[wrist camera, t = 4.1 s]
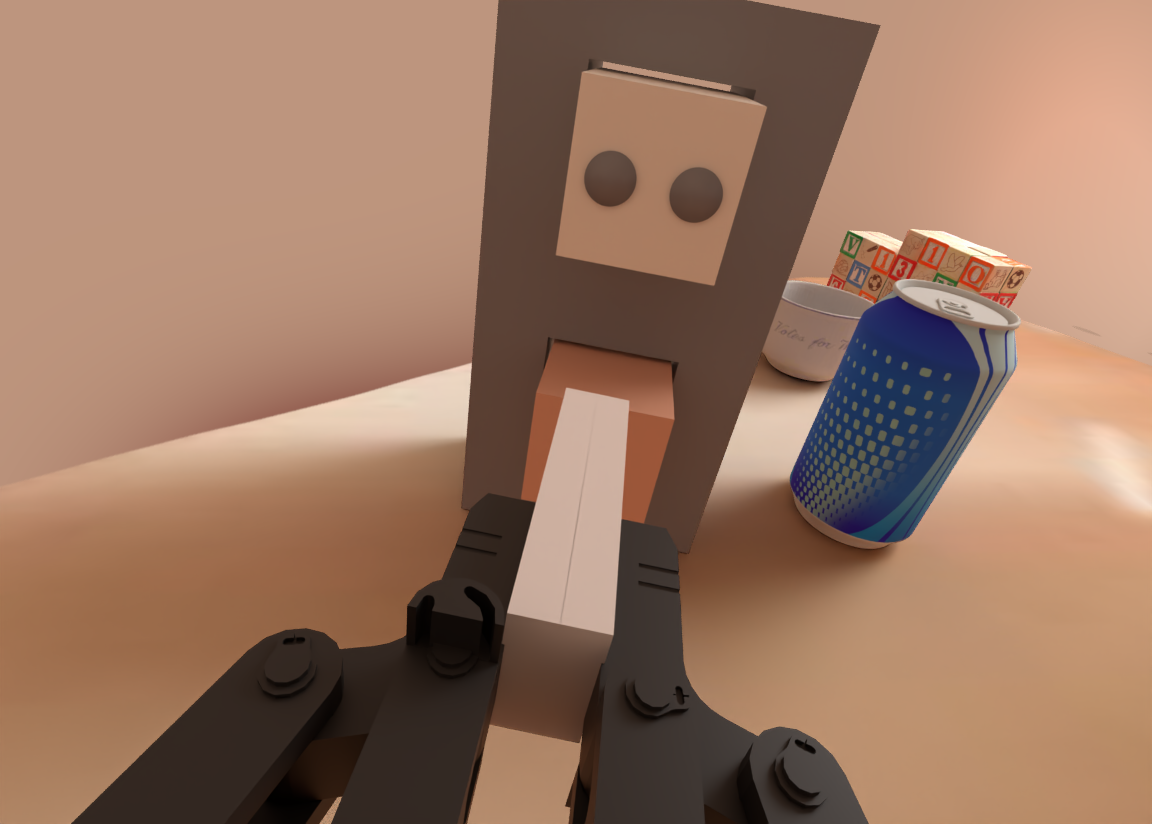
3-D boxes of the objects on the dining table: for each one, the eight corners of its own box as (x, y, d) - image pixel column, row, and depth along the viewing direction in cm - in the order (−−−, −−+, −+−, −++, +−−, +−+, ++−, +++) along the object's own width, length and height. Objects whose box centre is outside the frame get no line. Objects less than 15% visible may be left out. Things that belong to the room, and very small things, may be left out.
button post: (688, 553, 36) (880, 25, 21) (461, 508, 36) (502, -46, 22) (682, 473, 42) (825, 32, 28) (492, 435, 43) (538, -22, 28)
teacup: (749, 378, 57) (777, 301, 53) (743, 335, 67) (766, 266, 62) (894, 411, 56) (933, 335, 52) (867, 363, 66) (899, 295, 61)
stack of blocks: (821, 293, 85) (856, 206, 79) (854, 294, 87) (890, 210, 81) (940, 365, 69) (996, 263, 62) (977, 364, 71) (1035, 265, 64)
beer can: (758, 487, 42) (847, 274, 34) (836, 466, 46) (932, 271, 38) (851, 571, 36) (986, 339, 28) (931, 540, 40) (1070, 327, 32)
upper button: (714, 287, 22) (767, 107, 19) (555, 256, 22) (581, 71, 19) (699, 231, 29) (737, 92, 26) (578, 207, 29) (601, 67, 26)
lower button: (643, 525, 28) (674, 421, 25) (520, 500, 28) (535, 394, 25) (645, 432, 35) (669, 341, 32) (546, 413, 35) (561, 320, 32)
